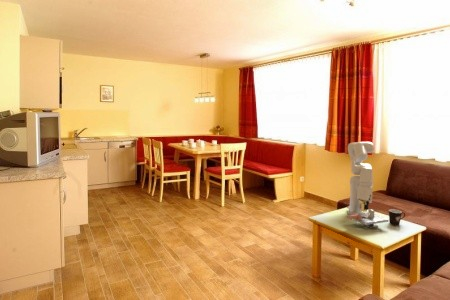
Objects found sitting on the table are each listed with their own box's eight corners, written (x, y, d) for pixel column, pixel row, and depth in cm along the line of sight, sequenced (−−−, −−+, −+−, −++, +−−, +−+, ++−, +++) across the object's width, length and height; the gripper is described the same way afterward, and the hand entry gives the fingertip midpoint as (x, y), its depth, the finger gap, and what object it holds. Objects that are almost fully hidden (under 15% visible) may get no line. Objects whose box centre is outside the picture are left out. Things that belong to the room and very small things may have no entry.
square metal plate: (346, 223, 226) (347, 208, 224) (368, 220, 233) (369, 205, 231) (364, 232, 209) (365, 216, 207) (387, 228, 216) (389, 212, 214)
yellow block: (358, 211, 218) (359, 200, 217) (366, 210, 220) (366, 199, 219) (361, 212, 215) (362, 201, 215) (369, 211, 218) (369, 200, 217)
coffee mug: (388, 225, 223) (389, 212, 222) (387, 221, 231) (387, 208, 230) (406, 227, 219) (407, 214, 218) (404, 223, 227) (405, 210, 226)
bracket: (346, 218, 217) (346, 214, 217) (355, 217, 220) (355, 213, 220) (352, 221, 212) (352, 216, 211) (361, 219, 214) (361, 215, 214)
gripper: (353, 182, 222) (351, 206, 224) (370, 187, 207) (368, 212, 209) (361, 181, 225) (359, 205, 227) (378, 186, 209) (377, 211, 211)
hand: (364, 208), depth 218 cm, fingers closed on yellow block, 2 cm apart
